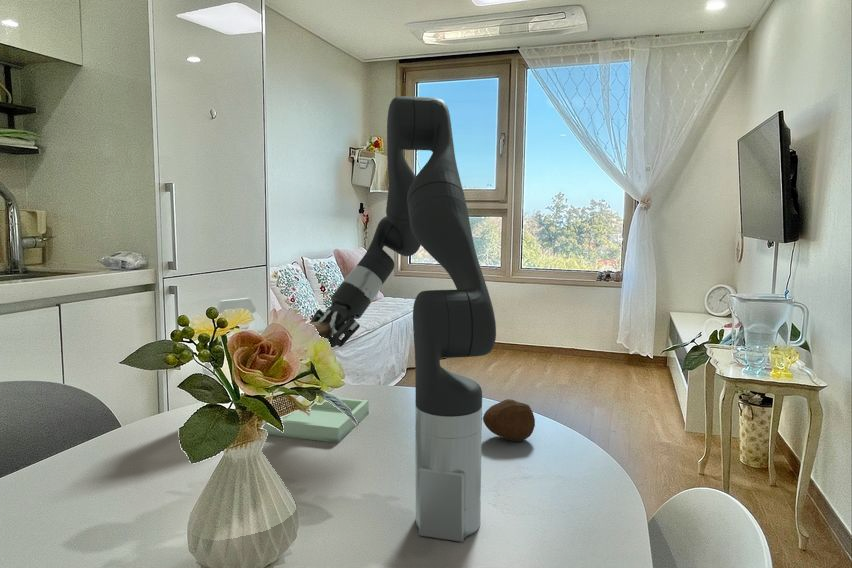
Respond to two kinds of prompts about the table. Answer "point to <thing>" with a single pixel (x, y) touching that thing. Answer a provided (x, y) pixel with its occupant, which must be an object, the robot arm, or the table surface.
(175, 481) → the table surface
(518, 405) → the potato
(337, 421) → the bin
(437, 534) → the robot arm
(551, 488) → the table surface
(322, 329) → the pepper mill
